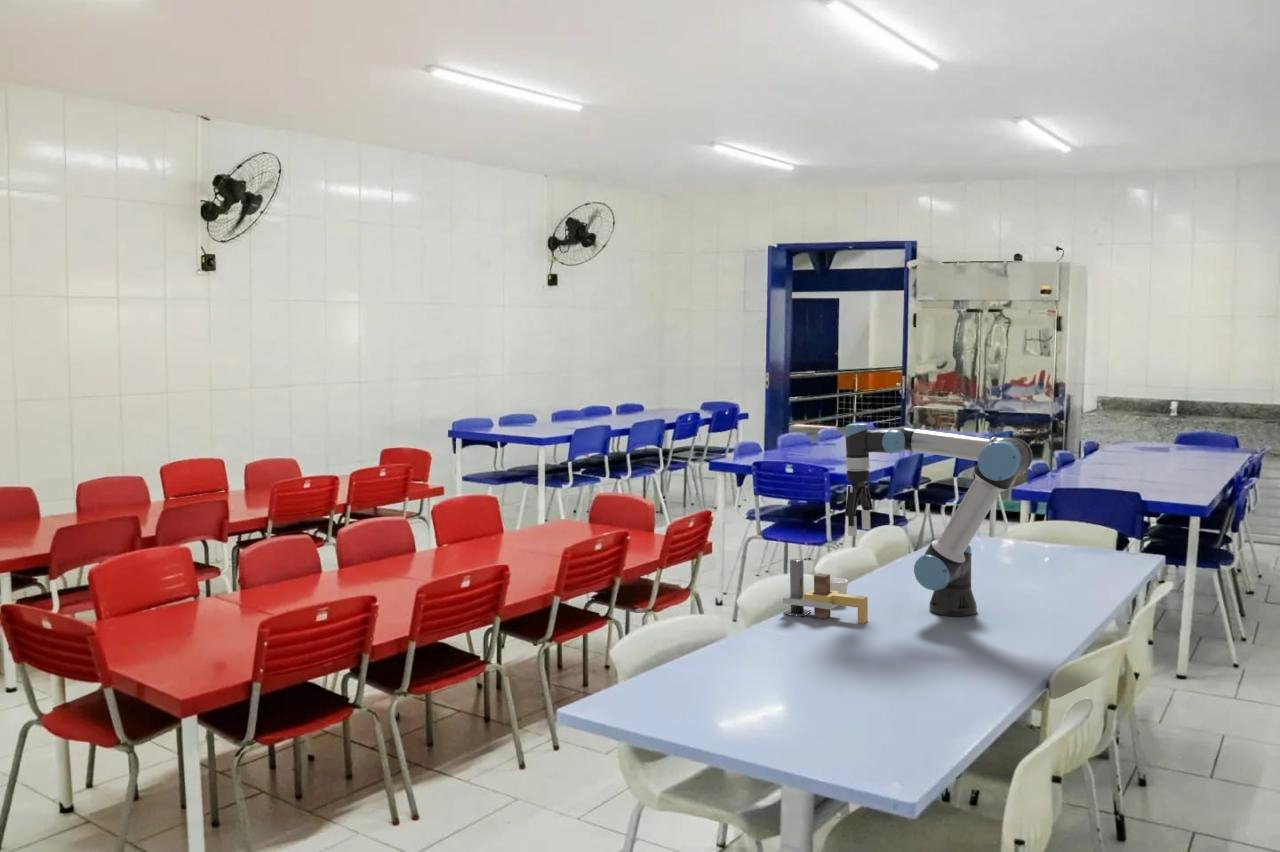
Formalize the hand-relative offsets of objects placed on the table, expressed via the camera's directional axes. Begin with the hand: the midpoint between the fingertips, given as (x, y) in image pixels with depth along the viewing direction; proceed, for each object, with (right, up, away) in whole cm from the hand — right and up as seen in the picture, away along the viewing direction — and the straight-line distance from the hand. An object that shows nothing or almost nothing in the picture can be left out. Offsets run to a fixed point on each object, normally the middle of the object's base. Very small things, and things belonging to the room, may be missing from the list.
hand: (859, 532), depth 355 cm
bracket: (-9, -27, -10) cm, 30 cm away
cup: (-7, -26, +11) cm, 29 cm away
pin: (-14, -27, -7) cm, 31 cm away
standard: (-17, -27, -5) cm, 32 cm away
